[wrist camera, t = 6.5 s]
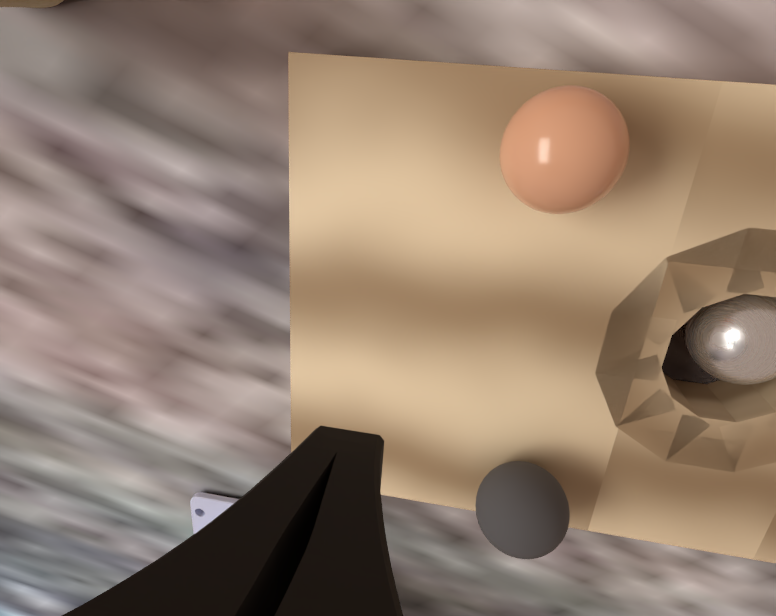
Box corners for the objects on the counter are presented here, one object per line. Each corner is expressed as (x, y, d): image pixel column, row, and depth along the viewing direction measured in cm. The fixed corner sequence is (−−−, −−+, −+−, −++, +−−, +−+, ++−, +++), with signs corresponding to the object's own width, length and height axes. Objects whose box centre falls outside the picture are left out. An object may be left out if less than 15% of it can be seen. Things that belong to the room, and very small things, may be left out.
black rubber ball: (552, 516, 20) (566, 589, 17) (470, 502, 20) (469, 570, 17) (570, 450, 18) (587, 516, 16) (481, 436, 19) (482, 498, 16)
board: (774, 518, 21) (810, 569, 19) (309, 442, 23) (291, 479, 21) (977, 103, 15) (1069, 104, 12) (313, 58, 17) (288, 52, 15)
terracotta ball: (597, 207, 15) (626, 232, 12) (489, 196, 15) (492, 219, 13) (624, 91, 14) (664, 88, 11) (506, 82, 14) (514, 78, 11)
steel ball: (812, 387, 17) (776, 401, 15) (706, 368, 19) (664, 379, 17) (822, 289, 16) (786, 291, 14) (712, 284, 19) (670, 285, 17)
